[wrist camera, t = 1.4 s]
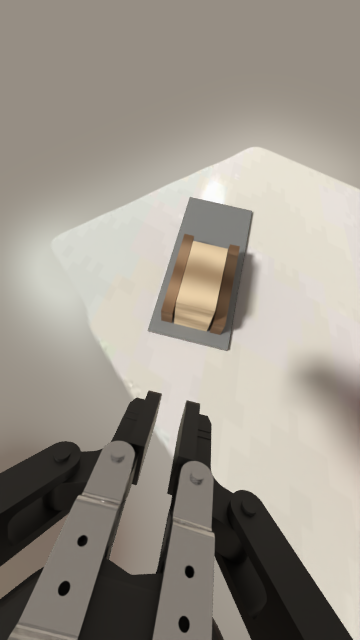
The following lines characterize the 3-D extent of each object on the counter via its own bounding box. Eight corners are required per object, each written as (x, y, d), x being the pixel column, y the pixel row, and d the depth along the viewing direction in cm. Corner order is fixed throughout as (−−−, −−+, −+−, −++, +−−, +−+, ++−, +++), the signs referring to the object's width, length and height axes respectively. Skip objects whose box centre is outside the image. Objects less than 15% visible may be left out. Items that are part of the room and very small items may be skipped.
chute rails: (182, 247, 45) (184, 233, 41) (234, 259, 44) (239, 246, 41) (161, 320, 39) (161, 310, 36) (219, 334, 39) (225, 326, 36)
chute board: (189, 199, 50) (190, 197, 50) (251, 213, 49) (252, 211, 49) (148, 331, 39) (147, 330, 38) (226, 350, 38) (227, 349, 38)
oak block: (188, 269, 43) (193, 240, 37) (218, 276, 43) (228, 248, 36) (173, 323, 39) (175, 302, 33) (206, 331, 39) (215, 311, 32)
